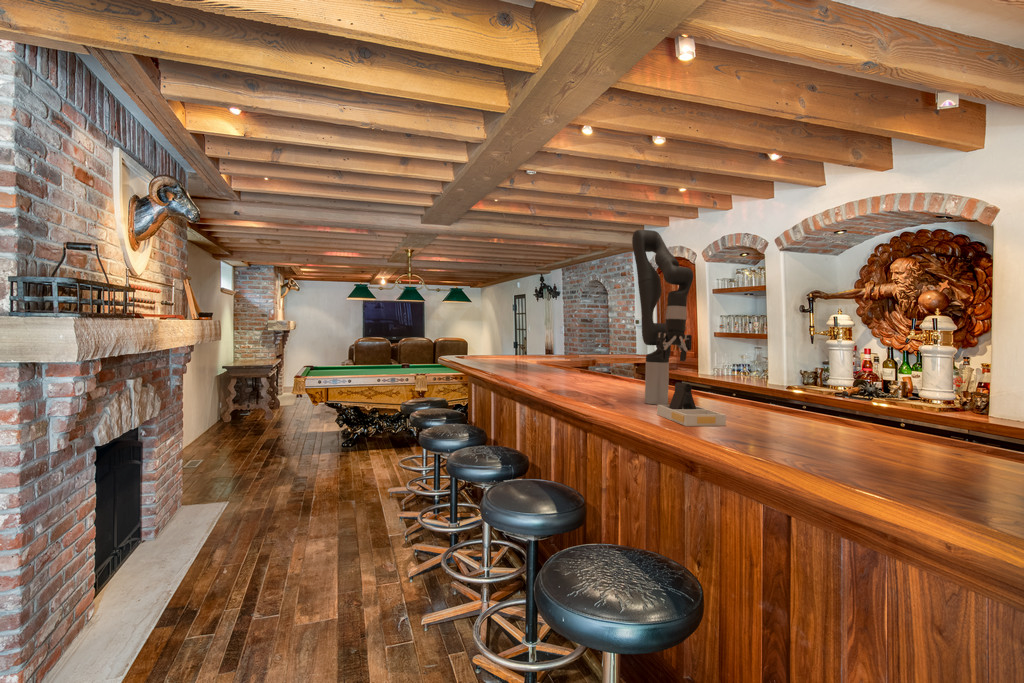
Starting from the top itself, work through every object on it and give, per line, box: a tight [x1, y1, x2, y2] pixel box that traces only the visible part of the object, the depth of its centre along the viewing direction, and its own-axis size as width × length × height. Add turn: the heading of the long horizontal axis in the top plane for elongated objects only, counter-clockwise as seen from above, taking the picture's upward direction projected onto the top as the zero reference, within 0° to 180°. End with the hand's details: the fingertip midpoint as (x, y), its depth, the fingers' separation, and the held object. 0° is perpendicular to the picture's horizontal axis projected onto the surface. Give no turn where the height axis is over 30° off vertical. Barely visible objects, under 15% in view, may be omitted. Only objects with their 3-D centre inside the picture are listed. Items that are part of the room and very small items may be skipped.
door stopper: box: [669, 381, 697, 410], centre depth 169 cm, size 9×6×12 cm, turn 101°
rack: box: [656, 404, 727, 427], centre depth 164 cm, size 21×14×4 cm, turn 8°
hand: (672, 360), depth 186 cm, fingers open, 8 cm apart
